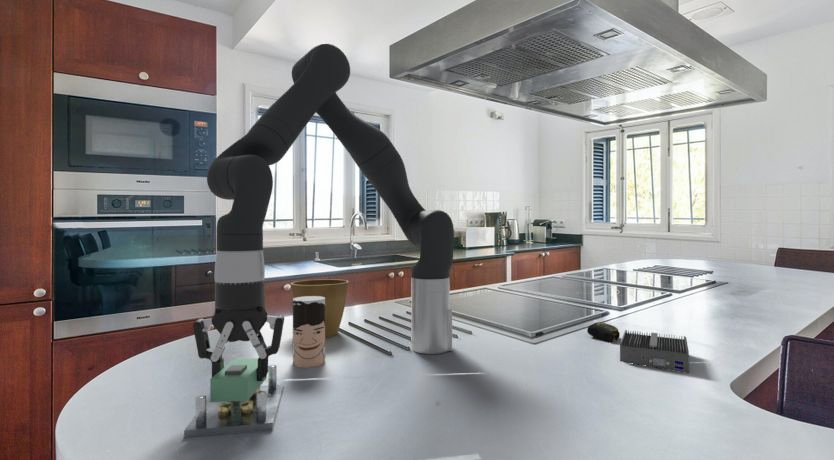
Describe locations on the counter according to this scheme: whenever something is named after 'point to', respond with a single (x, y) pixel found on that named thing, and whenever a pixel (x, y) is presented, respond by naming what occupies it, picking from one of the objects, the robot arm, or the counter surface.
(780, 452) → the counter surface
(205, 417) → the chassis
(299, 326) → the printed cylinder
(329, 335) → the plant pot
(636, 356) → the electronic device
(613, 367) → the counter surface
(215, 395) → the green block
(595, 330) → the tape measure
